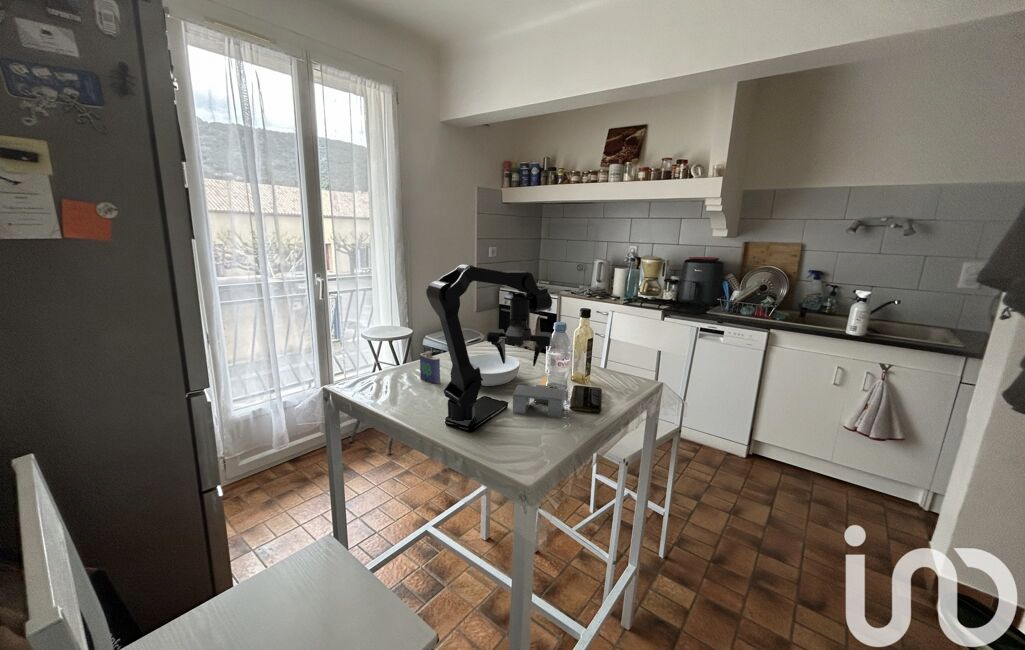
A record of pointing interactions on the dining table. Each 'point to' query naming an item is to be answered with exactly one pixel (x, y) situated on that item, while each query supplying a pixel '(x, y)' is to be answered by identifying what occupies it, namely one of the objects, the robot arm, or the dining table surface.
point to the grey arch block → (526, 392)
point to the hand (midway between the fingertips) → (518, 364)
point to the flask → (429, 368)
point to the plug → (542, 384)
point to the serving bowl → (495, 368)
